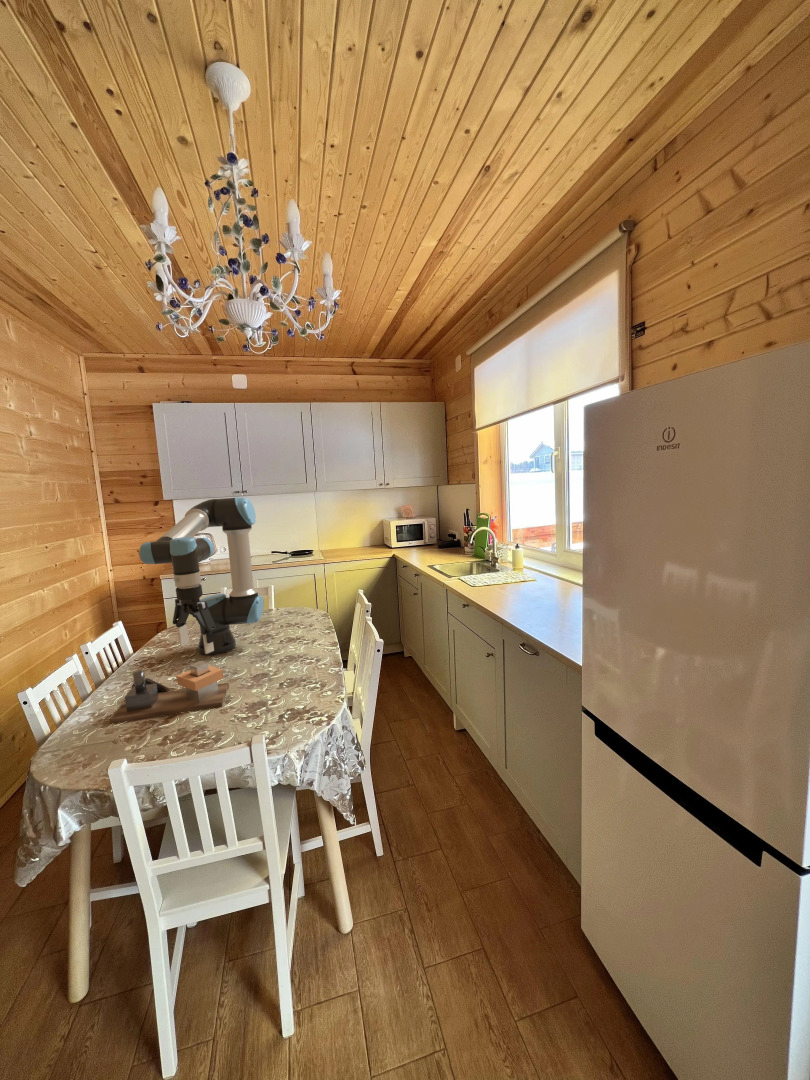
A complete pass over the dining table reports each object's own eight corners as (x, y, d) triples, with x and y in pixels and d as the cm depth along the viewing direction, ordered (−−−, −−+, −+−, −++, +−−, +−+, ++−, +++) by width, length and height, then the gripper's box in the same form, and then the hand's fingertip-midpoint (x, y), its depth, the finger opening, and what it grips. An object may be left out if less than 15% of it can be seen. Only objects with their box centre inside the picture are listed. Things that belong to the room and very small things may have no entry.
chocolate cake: (178, 687, 157) (153, 665, 157) (170, 691, 150) (144, 668, 151) (158, 709, 155) (133, 686, 156) (148, 714, 149) (122, 690, 149)
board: (128, 701, 148) (127, 697, 147) (229, 686, 154) (228, 682, 154) (110, 724, 134) (109, 719, 134) (221, 706, 141) (221, 702, 141)
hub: (186, 697, 145) (182, 666, 143) (205, 688, 151) (202, 658, 149) (199, 702, 141) (195, 670, 140) (218, 692, 147) (214, 661, 145)
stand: (135, 700, 145) (130, 669, 143) (158, 697, 146) (153, 666, 145) (127, 711, 138) (121, 678, 136) (151, 707, 140) (146, 675, 138)
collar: (177, 684, 144) (176, 675, 143) (205, 672, 152) (204, 664, 152) (195, 691, 138) (194, 682, 138) (223, 677, 147) (222, 669, 146)
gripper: (155, 585, 144) (164, 646, 147) (201, 592, 131) (210, 659, 134) (177, 579, 150) (185, 638, 154) (223, 586, 137) (231, 650, 140)
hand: (197, 648), depth 144 cm, fingers open, 13 cm apart
